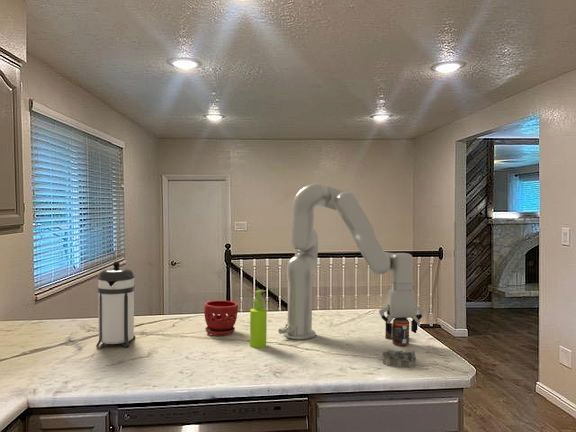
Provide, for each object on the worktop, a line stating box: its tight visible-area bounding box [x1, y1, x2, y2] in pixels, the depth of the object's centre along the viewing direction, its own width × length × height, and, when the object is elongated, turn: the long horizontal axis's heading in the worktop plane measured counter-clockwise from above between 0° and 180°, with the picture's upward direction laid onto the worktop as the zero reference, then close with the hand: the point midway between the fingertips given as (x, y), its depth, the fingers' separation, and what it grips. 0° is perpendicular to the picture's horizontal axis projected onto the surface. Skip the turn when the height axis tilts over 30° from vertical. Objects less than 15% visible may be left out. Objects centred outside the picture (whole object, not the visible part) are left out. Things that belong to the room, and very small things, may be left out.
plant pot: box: [203, 300, 239, 337], centre depth 183 cm, size 13×13×12 cm
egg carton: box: [381, 349, 417, 369], centre depth 151 cm, size 11×8×4 cm
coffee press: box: [95, 261, 136, 350], centre depth 168 cm, size 17×16×30 cm
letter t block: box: [384, 322, 393, 340], centre depth 179 cm, size 5×5×5 cm
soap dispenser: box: [249, 289, 268, 349], centre depth 167 cm, size 6×7×20 cm
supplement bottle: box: [391, 318, 410, 347], centre depth 171 cm, size 6×6×11 cm
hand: (401, 332), depth 171 cm, fingers open, 9 cm apart
